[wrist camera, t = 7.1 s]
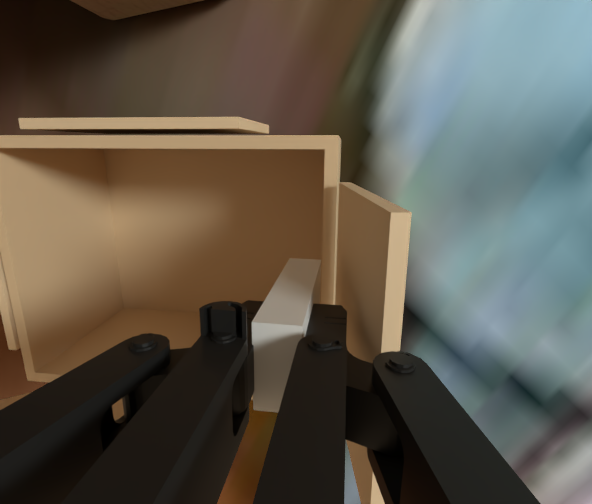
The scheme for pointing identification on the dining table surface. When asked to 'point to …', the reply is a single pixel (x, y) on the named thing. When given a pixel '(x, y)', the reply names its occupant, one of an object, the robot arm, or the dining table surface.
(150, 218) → the carton
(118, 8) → the wooden block
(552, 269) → the dining table surface
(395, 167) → the dining table surface
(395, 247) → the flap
